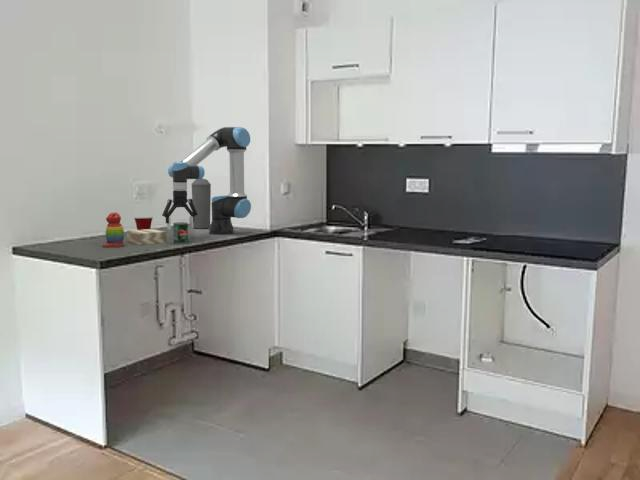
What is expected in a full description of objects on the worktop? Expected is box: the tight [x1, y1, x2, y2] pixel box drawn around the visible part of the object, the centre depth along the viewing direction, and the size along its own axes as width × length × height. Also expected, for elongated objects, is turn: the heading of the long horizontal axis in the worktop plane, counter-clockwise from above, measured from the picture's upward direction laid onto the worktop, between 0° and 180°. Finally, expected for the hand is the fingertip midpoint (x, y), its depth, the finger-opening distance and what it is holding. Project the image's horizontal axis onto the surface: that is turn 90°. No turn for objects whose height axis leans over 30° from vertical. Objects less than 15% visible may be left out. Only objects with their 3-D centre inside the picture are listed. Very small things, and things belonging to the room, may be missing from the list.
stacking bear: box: [102, 212, 125, 248], centre depth 326 cm, size 11×10×18 cm
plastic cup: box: [133, 216, 154, 230], centre depth 361 cm, size 11×11×12 cm
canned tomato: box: [172, 221, 189, 245], centre depth 342 cm, size 8×8×11 cm
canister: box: [191, 178, 212, 230], centre depth 405 cm, size 13×13×35 cm
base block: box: [126, 228, 168, 246], centre depth 343 cm, size 16×16×6 cm
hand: (180, 228), depth 341 cm, fingers open, 13 cm apart
